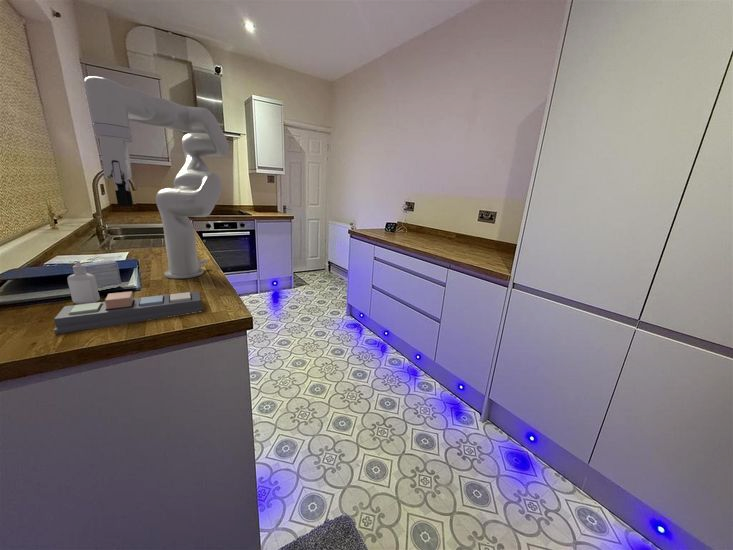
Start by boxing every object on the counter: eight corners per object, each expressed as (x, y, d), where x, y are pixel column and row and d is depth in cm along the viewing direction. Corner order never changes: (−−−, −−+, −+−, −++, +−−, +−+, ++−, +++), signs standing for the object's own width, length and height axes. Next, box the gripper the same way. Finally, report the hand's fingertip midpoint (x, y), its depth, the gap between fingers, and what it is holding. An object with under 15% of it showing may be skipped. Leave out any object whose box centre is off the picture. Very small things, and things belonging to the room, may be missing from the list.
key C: (103, 310, 74) (101, 302, 74) (99, 317, 71) (97, 309, 70) (77, 313, 72) (75, 304, 71) (72, 321, 68) (69, 312, 67)
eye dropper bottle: (84, 306, 79) (74, 264, 75) (70, 302, 80) (60, 261, 76) (102, 300, 83) (94, 260, 79) (88, 297, 84) (79, 257, 80)
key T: (164, 303, 81) (162, 295, 81) (163, 309, 77) (162, 301, 77) (142, 305, 79) (141, 297, 78) (141, 312, 75) (139, 303, 74)
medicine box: (116, 284, 95) (111, 259, 93) (122, 287, 93) (117, 261, 91) (84, 290, 89) (78, 263, 86) (90, 294, 87) (84, 266, 84)
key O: (133, 299, 77) (132, 291, 77) (131, 306, 73) (129, 297, 73) (110, 302, 75) (108, 293, 74) (106, 309, 71) (104, 300, 70)
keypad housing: (199, 298, 89) (198, 289, 88) (202, 312, 80) (201, 302, 79) (69, 314, 73) (66, 303, 73) (55, 333, 65) (51, 321, 64)
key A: (190, 299, 85) (189, 292, 84) (191, 305, 81) (190, 297, 80) (171, 302, 82) (170, 294, 82) (171, 308, 78) (169, 300, 78)
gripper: (99, 134, 79) (112, 203, 84) (87, 128, 67) (103, 208, 72) (134, 138, 83) (144, 203, 88) (128, 133, 71) (140, 208, 77)
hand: (125, 205), depth 80 cm, fingers closed
